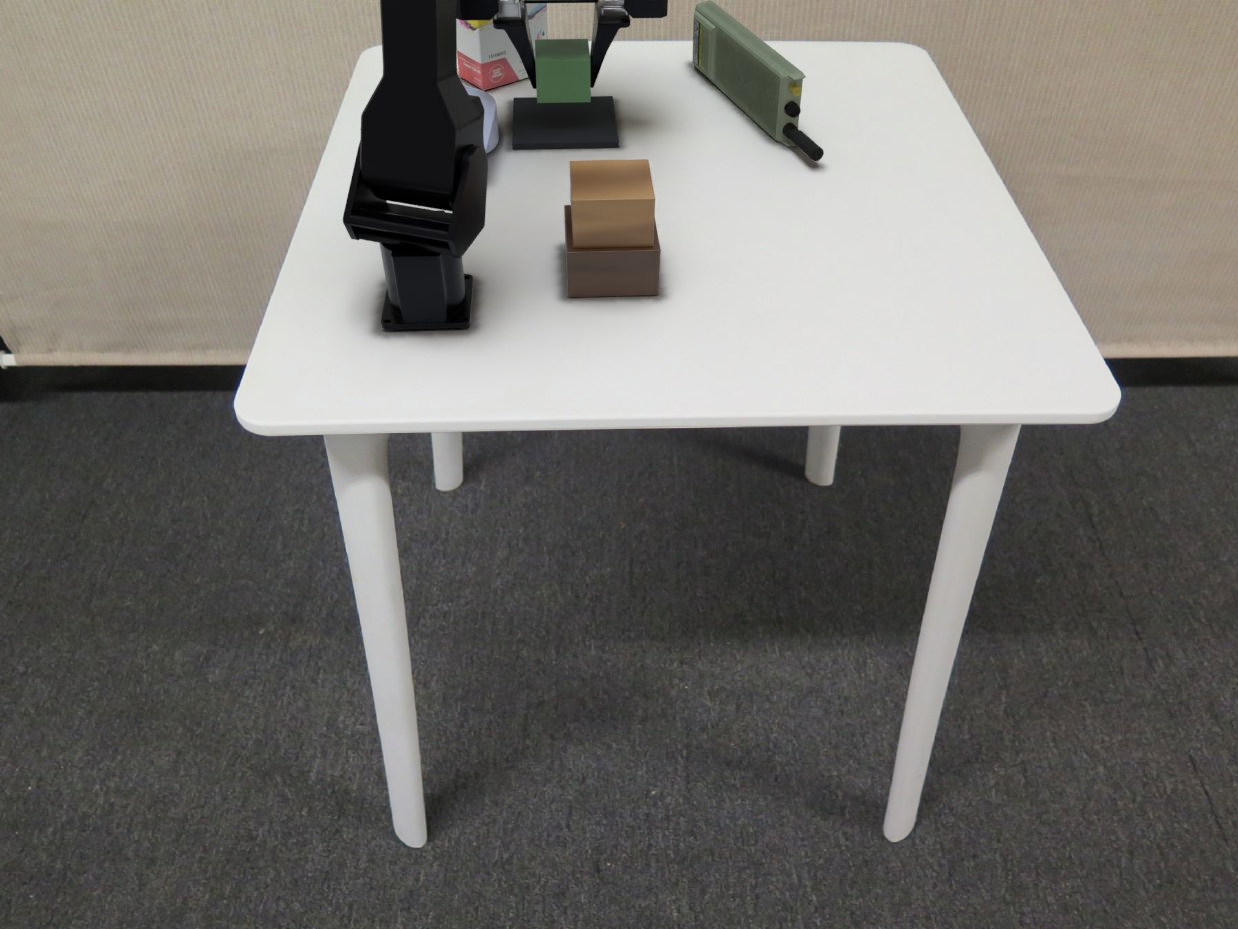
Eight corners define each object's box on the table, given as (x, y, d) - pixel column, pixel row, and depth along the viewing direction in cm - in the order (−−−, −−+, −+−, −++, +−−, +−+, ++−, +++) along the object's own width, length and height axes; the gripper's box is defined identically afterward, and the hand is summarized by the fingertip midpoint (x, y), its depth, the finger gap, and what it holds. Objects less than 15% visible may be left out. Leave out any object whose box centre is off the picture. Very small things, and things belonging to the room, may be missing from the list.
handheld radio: (716, 61, 110) (833, 164, 93) (688, 67, 109) (801, 172, 93) (718, -2, 105) (842, 94, 89) (689, 3, 105) (809, 101, 88)
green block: (590, 102, 95) (590, 59, 92) (537, 103, 95) (535, 60, 92) (588, 80, 98) (587, 38, 96) (536, 80, 98) (534, 39, 95)
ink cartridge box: (484, 92, 104) (471, -63, 94) (457, 77, 107) (442, -76, 96) (551, 71, 108) (546, -80, 98) (524, 56, 111) (516, -92, 100)
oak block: (653, 246, 76) (655, 198, 73) (573, 248, 75) (571, 200, 72) (646, 205, 80) (648, 158, 77) (570, 207, 80) (569, 160, 77)
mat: (618, 147, 96) (618, 141, 95) (512, 149, 95) (512, 143, 95) (612, 101, 103) (612, 95, 102) (513, 102, 102) (513, 97, 102)
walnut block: (658, 295, 78) (660, 250, 75) (567, 297, 78) (566, 252, 75) (650, 246, 83) (652, 202, 80) (565, 248, 83) (564, 204, 80)
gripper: (659, -122, 92) (653, 51, 102) (452, -121, 91) (468, 54, 101) (672, -85, 84) (664, 98, 94) (445, -84, 83) (463, 102, 93)
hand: (563, 86), depth 96 cm, fingers closed on green block, 5 cm apart
